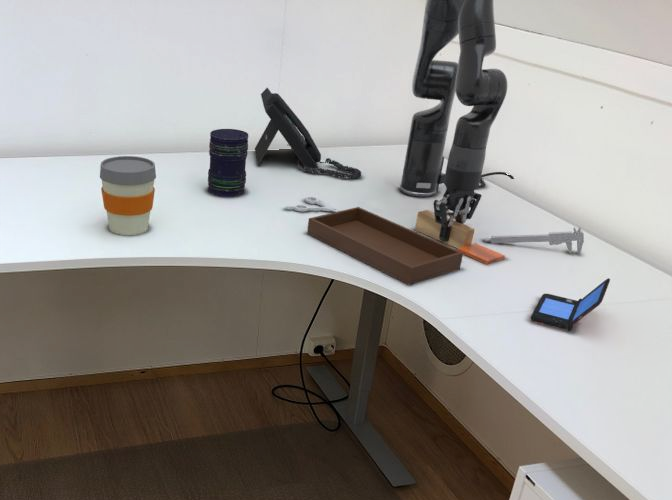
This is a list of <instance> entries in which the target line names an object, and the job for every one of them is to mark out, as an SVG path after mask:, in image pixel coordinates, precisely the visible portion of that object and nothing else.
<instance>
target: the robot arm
mask: <svg viewBox="0 0 672 500" xmlns="http://www.w3.org/2000/svg"><path fill="white" fill-rule="evenodd" d="M494 10H495V8H494V0H426V1H425V7H424V11H423V12H424V13H423V20H422V30H421V38H420V43H419V44H420V45H419V49H418V53H417V58H416V62H415V66H414V71H413V76H412V81H411V92H412V95H413V96H414V97H416V98H418V99H422V100H433V101H439V103H438V104H436V105H435V106H432V107H430V108H427V109H423V110H420V111H416V112H415V113H414V114H413V115H412V118H411V123H410V129H409V134H408V141H407V147H406V152H405V158H404V164H403V169H402V175H401V181H400V185H399V191H400V192H401V193H403V194H405V195H407V196H411V197H417V198H428V197H429V198H430V197H433V196H436V193H438V192H439V187H440V185H441V184H442V185H443V184H444V186H445V192H444V193H443V196H442V198H441V199H435V200H434V201H433V212H434V214H435V222H437V223H439V224H441V230H440V234H439V239H440V240H442V241H444V242H447V241H449V237H450V232H451V226H452V223H453V220H454V221H456V222H459V223H461V224H464V225H465V223H466V221H467V220H472V217H473V215H474V214H475V211H476V209H477V207H478V205H479V203H480V202H481V198H482V194H481V193H478V192H476V191H475V190H477V189H481V188H484V187H485V186H486V182H485V181H484V180H483V178H485V177H490V176H496V175H504V176H507V177H508V178H510V180H515V178H514V176H513V175H512V174H510V175H507V174H506V173H507V172H505V171H493V172H489V173H484V174H482V173H483V169H484V164H485V160H486V154H487V153H486V152H487V145H488V140H489V137H490V132H491V127H492V126H493V124H494V122H495V120H496V119H497V116H498V114H499V112H500V110H501V107H502V105H503V104H504V101H505V99H506V97H507V94H508V93H507V92H508V79H507V76H506V74H505V73H504V71H502V70H501V69H499V68H485V69H483V66H484V65H483V64H484V59H485V58H487V57H489V56H491V55H493V54H494V53H495V51H496V49H497V38H496V26H495V25H496V24H495V11H494ZM457 36H458V40H459V56H458V62H457V61H450V60H439V59H434V58H435V57H436V56H437V54H439V52H440V51H441V50H443V49H444V48H445V47H446V46H448V45H449V44H450V43H451V42H452V41H454V40H455V39H456V38H457ZM455 96H456V97H457V99H458V101H459V103H461V105H463V106H466V107H472V108H471V110H470V111H469V112H468V113H466V114H464V115H462V116H460V117H459V118H458V119H457V121H456V125H455V129H454V135H453V140H452V144H451V147H450V149H449V153H448V158H447V163H446V168H445V173H443V168H444V162H445V156H444V150H445V147H446V146H445V145H446V140H447V137H448V136H447V135H448V131H449V130H448V129H449V125H450V119H451V114H452V109H453V105H454V100H455ZM480 183H481V184H480ZM440 217H441V218H440ZM447 218H449V220H447ZM442 241H441V242H442ZM444 242H443V243H444Z"/></svg>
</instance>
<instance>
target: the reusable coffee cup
mask: <svg viewBox="0 0 672 500" xmlns="http://www.w3.org/2000/svg"><path fill="white" fill-rule="evenodd" d="M156 173H157V172H156V164H155V161H153V160H151V159H149V158H146V157H142V156H135V155H134V156H133V155H120V156H113V157H109V158H105V159H104V160H102V161H101V162H100V167H99V178H100V179H101V185H102V186H101V187H100V189H101V197H102V203H103V208H104V210H105V211H106V218H107V223H108V229H109V231H110V232H112V233H114V234H116V235H121V236H137V235H141V234H144V233H146V232H147V231H148V230H149V222H150V216H151V211H152V210H153V207H154V200H155V199H154V198H155V192H156V188H155V186H154V185H155V180H156V178H157V174H156Z"/></svg>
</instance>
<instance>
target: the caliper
mask: <svg viewBox="0 0 672 500" xmlns="http://www.w3.org/2000/svg"><path fill="white" fill-rule="evenodd" d="M584 235H585V233H584V231H582V228H581V226H579V227H578V228H577V229H576V227H575V226H573V232H572V231H552V232H551V231H550V232H549V233H543V234H514V235H512V234H511V235H491V237H488V238H487V237H486V238H484V242H490V244H515V243H548V244H549V246H553V245H556V246H558V245H561V244H564V243H565V245H566V248H567V251H568V254H569V255H572V250H573V242H574V241H575V242H576V253H577V255H579V254H581V252H582V249H583V246H584V242H585V236H584Z"/></svg>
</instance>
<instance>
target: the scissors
mask: <svg viewBox="0 0 672 500" xmlns="http://www.w3.org/2000/svg"><path fill="white" fill-rule="evenodd" d="M304 202H306V203H307V204H311V205H312V204H313V205H318V206H319V207H318V206H316V207H315V206H309V205H307V204H295V205H285V210H293V211H296V212H308V211H315V212H317V211H324V212H331V213H334V212H338V211H343V210H344V209H341V208H336V207H334V206H331V205H329V204H328V205H327V204H324V202H321V201H320V200H319V198H317V197H314V196H306V197H305V198H304Z"/></svg>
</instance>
